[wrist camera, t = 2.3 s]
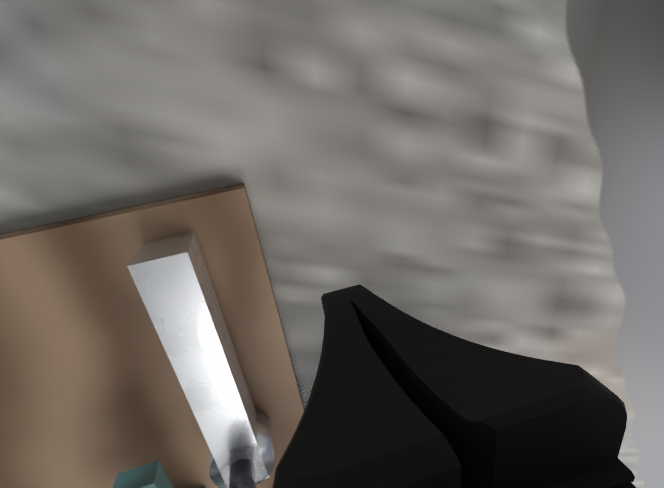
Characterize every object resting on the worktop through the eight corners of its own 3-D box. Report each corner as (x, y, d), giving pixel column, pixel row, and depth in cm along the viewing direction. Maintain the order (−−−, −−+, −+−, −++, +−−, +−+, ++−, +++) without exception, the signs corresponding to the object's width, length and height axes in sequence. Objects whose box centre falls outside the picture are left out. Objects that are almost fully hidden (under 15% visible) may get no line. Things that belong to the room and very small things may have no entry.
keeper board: (244, 183, 18) (245, 215, 13) (325, 487, 28) (342, 567, 24) (-175, 271, 15) (-362, 351, 11) (83, 572, 26) (48, 680, 21)
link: (276, 442, 23) (286, 532, 19) (221, 459, 23) (216, 557, 18) (206, 229, 17) (193, 282, 12) (128, 247, 17) (82, 310, 12)
